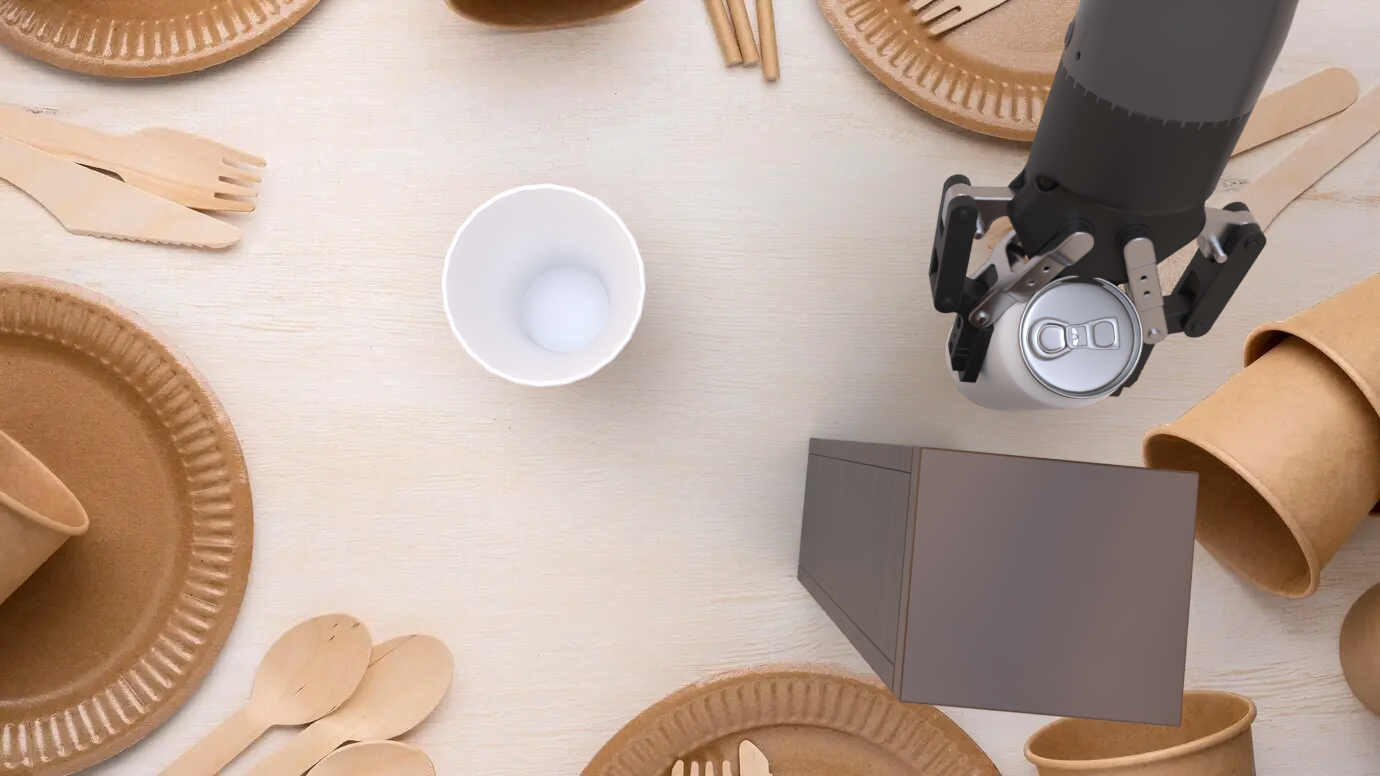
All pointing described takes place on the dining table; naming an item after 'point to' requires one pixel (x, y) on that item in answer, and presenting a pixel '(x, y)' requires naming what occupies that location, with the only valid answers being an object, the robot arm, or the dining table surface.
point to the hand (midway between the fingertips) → (1035, 377)
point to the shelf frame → (857, 541)
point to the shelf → (1046, 586)
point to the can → (1058, 349)
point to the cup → (543, 285)
